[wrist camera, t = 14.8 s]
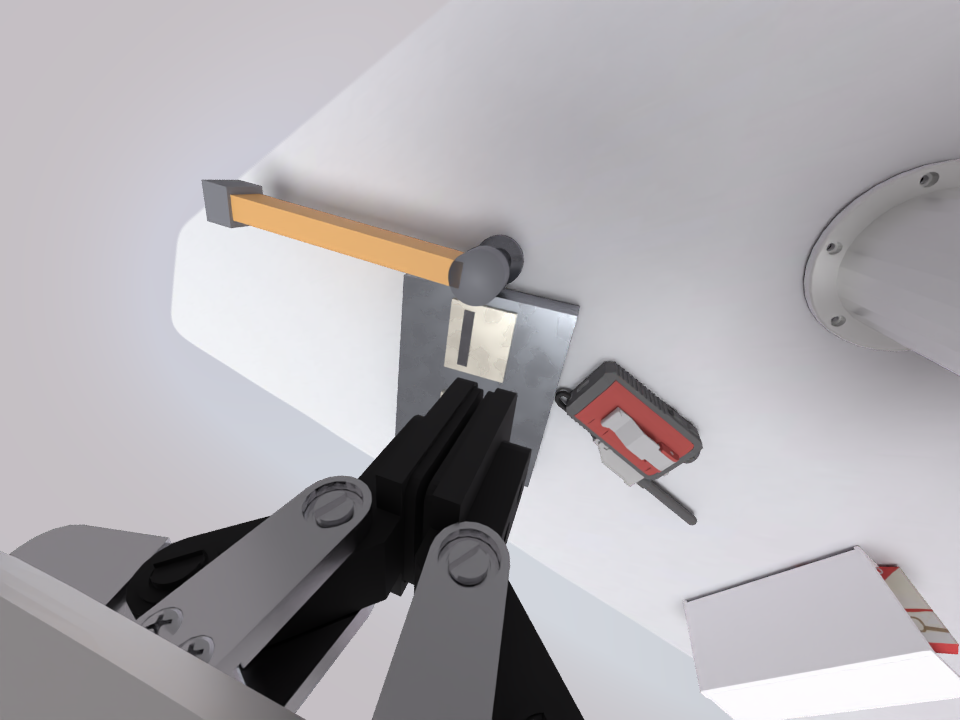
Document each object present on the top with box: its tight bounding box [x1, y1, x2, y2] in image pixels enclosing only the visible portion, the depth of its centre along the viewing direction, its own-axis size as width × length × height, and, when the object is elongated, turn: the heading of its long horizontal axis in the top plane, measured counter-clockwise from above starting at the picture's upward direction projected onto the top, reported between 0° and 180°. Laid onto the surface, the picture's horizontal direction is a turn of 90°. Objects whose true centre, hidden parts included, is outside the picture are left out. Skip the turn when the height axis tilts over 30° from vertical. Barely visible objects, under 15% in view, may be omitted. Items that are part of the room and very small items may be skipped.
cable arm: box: [202, 180, 509, 306], centre depth 30 cm, size 26×4×4 cm, turn 78°
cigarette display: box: [683, 546, 960, 720], centre depth 36 cm, size 20×6×9 cm, turn 140°
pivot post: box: [480, 235, 524, 284], centre depth 32 cm, size 4×4×4 cm
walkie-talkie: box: [555, 362, 703, 525], centre depth 36 cm, size 9×4×20 cm
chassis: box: [395, 273, 579, 487], centre depth 38 cm, size 16×20×4 cm
